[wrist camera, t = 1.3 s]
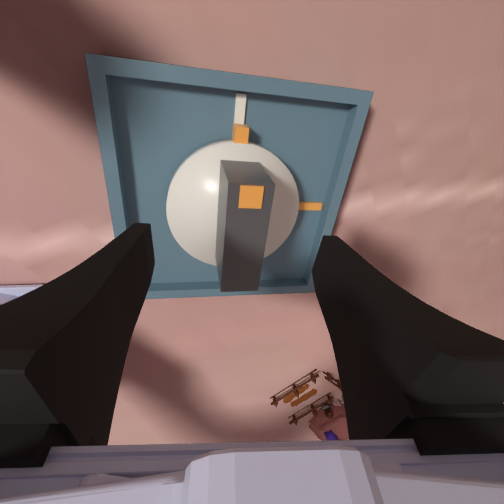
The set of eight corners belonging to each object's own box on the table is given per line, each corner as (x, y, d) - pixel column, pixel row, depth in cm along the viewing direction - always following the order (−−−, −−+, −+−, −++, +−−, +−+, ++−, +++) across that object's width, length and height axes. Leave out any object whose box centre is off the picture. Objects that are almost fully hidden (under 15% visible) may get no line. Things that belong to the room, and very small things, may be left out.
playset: (418, 299, 34) (464, 346, 28) (456, 358, 44) (495, 402, 38) (259, 400, 40) (271, 456, 34) (324, 433, 50) (342, 480, 44)
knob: (281, 255, 24) (303, 301, 19) (169, 256, 22) (165, 307, 17) (306, 129, 19) (346, 151, 14) (163, 116, 17) (154, 135, 12)
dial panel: (304, 275, 28) (313, 292, 26) (130, 280, 24) (125, 299, 22) (354, 88, 19) (373, 91, 17) (97, 54, 16) (84, 52, 14)
